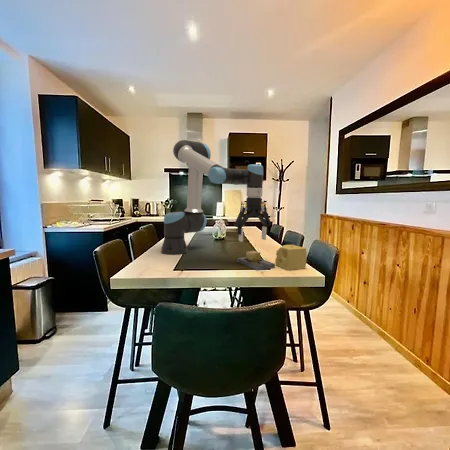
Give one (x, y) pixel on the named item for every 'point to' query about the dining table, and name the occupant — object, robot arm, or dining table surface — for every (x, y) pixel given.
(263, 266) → the metal plate
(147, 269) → the dining table surface
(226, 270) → the dining table surface
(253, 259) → the yellow cube
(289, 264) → the cheese
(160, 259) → the dining table surface
